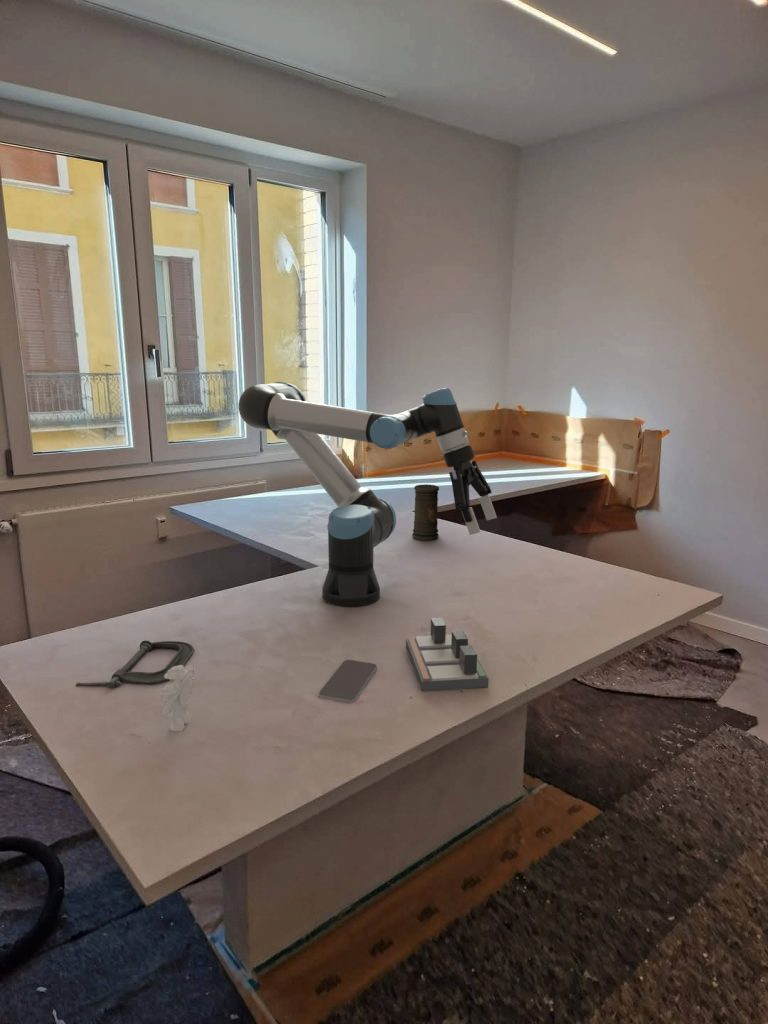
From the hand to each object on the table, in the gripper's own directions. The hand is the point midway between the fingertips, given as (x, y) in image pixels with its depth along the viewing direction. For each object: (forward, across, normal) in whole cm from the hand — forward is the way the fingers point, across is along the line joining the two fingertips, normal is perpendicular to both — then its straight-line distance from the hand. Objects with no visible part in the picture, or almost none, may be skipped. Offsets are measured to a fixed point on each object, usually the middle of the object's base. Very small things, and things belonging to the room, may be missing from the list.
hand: (483, 526), depth 169 cm
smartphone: (+13, -57, +14) cm, 60 cm away
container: (+7, +43, +40) cm, 59 cm away
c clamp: (-3, -70, +52) cm, 87 cm away
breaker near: (+18, -46, -6) cm, 50 cm away
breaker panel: (+18, -42, +1) cm, 46 cm away
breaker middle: (+17, -41, -2) cm, 44 cm away
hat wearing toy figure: (+5, -84, +31) cm, 89 cm away
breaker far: (+15, -36, +4) cm, 39 cm away
